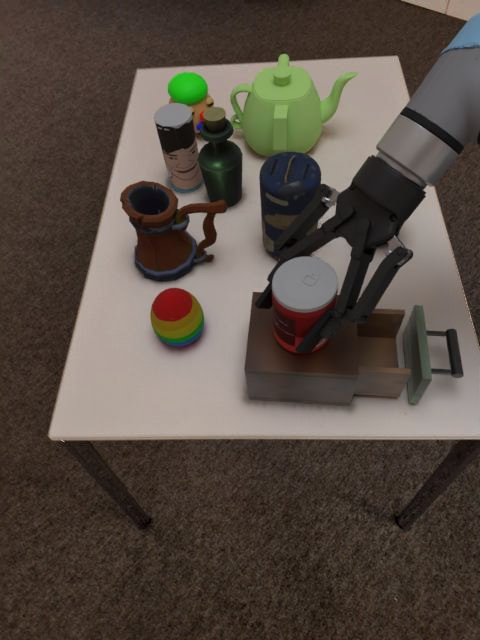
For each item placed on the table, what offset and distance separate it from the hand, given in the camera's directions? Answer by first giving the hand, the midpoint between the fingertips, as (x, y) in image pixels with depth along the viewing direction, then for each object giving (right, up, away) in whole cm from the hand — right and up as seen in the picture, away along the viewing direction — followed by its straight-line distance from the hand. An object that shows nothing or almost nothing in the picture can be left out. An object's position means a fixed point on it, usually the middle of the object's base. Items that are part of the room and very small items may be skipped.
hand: (281, 328), depth 61 cm
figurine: (-15, +43, +46) cm, 64 cm away
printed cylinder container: (-16, +29, +37) cm, 50 cm away
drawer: (+16, -6, +10) cm, 20 cm away
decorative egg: (-15, -1, +17) cm, 23 cm away
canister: (+4, +15, +26) cm, 30 cm away
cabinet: (+4, -6, +12) cm, 14 cm away
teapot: (+5, +40, +42) cm, 58 cm away
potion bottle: (-8, +25, +34) cm, 43 cm away
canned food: (+3, 0, +4) cm, 5 cm away
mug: (-15, +12, +26) cm, 32 cm away
